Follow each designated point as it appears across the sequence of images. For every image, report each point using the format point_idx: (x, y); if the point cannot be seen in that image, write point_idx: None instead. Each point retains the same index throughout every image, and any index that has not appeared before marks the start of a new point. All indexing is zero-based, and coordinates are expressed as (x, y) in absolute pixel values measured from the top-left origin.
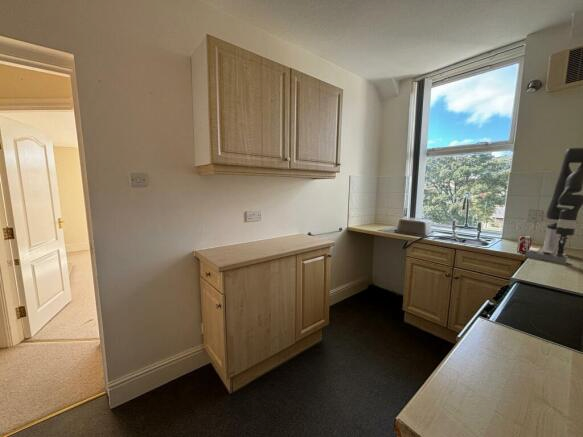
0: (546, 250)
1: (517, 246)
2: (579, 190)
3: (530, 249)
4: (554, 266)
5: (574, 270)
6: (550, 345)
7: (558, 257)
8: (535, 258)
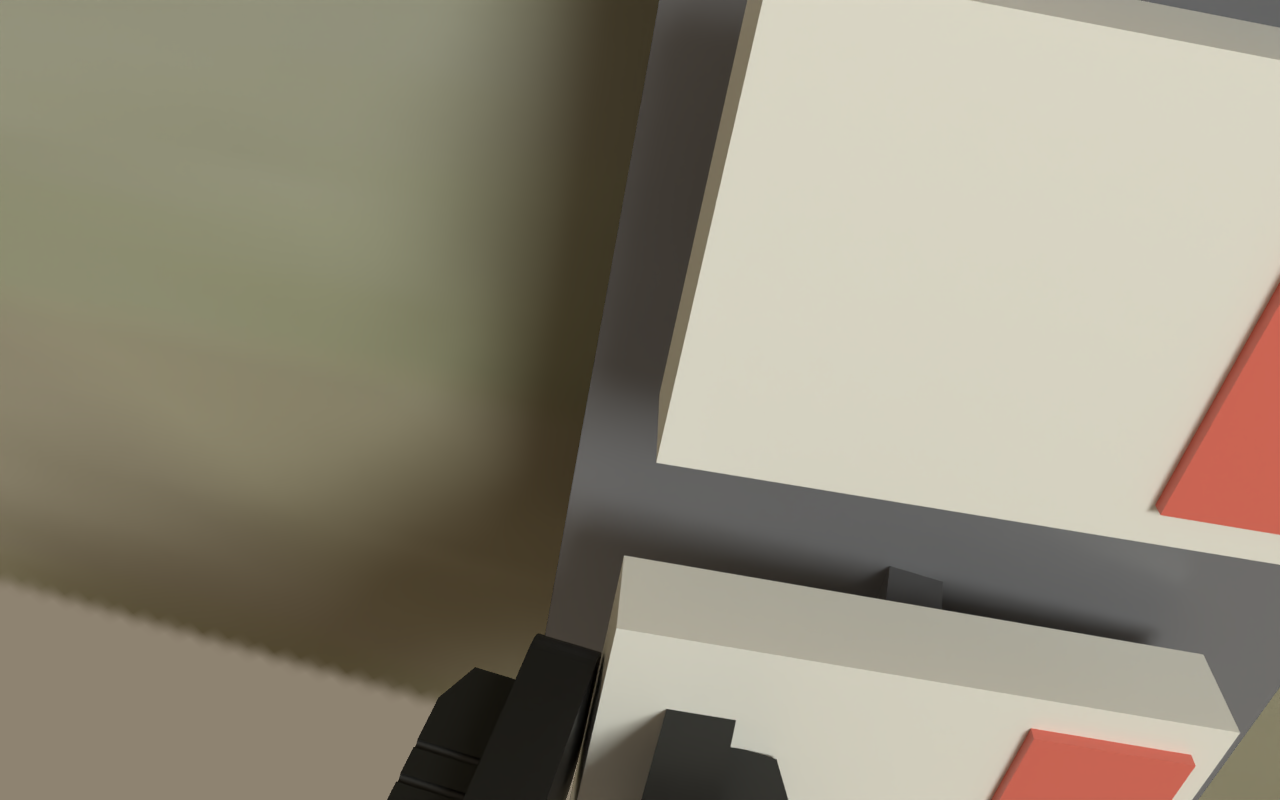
0: (712, 240)
1: None
2: None
3: None
4: (29, 201)
5: (92, 567)
6: None
7: (567, 540)
8: None
